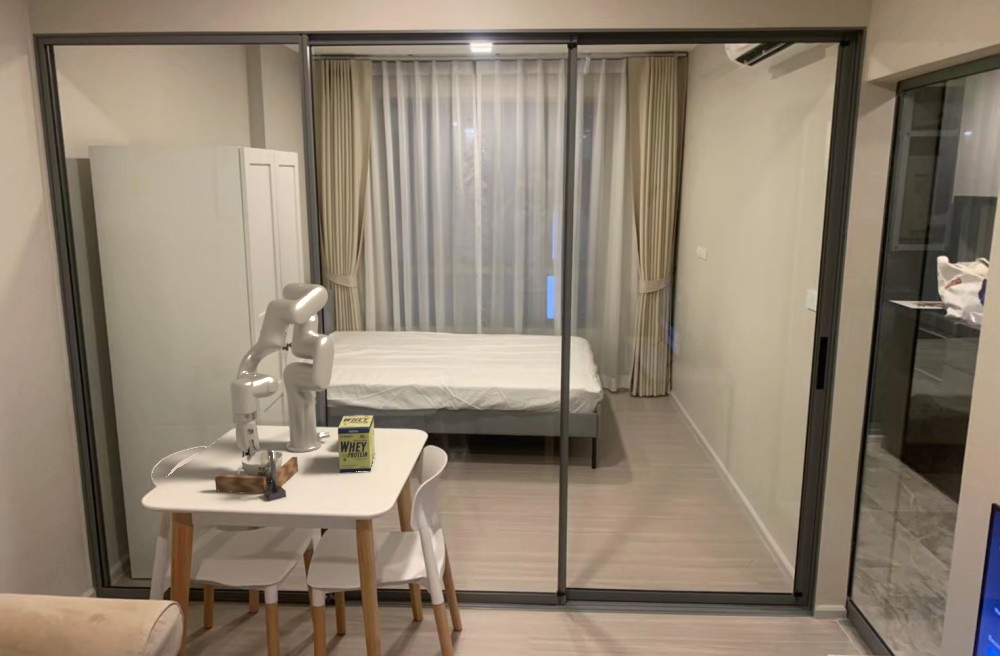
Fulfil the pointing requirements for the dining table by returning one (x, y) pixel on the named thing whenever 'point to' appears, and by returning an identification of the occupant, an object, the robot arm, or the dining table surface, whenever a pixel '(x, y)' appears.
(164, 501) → the dining table surface
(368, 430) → the protein box
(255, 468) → the teacup
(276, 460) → the dial stand
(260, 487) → the v block
